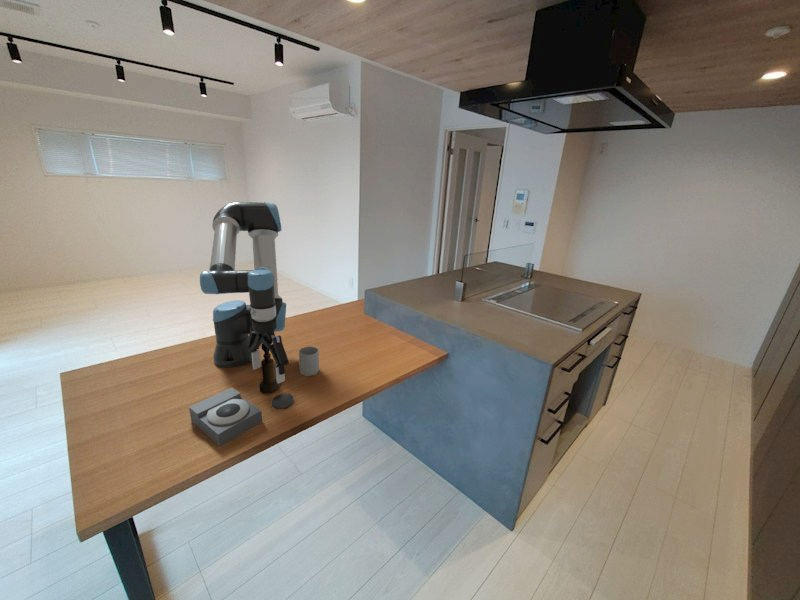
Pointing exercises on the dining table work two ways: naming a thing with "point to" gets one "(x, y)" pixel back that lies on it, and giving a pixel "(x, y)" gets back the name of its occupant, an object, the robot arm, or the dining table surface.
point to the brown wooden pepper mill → (268, 374)
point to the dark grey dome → (282, 401)
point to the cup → (309, 360)
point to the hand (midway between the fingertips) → (268, 374)
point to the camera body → (225, 416)
